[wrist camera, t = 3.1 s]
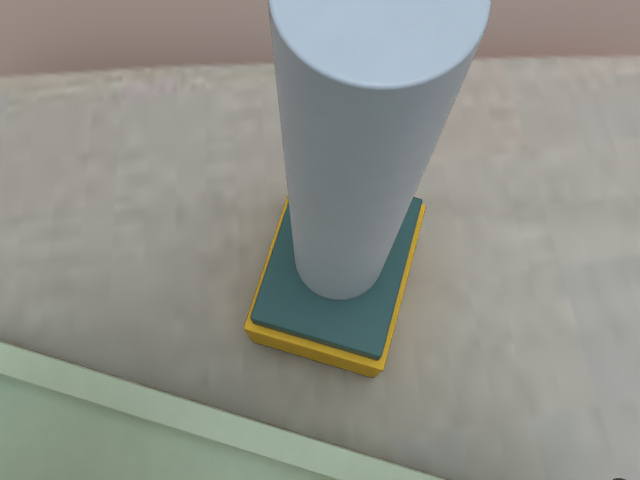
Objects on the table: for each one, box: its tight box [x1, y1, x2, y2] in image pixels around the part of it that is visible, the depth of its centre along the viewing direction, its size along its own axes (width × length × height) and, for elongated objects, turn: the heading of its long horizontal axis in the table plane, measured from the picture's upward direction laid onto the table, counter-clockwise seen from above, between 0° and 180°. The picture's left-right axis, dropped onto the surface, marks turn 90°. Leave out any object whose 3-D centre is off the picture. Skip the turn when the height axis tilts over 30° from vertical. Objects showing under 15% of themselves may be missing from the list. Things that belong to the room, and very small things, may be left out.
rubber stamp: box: [244, 0, 491, 378], centre depth 13 cm, size 5×4×14 cm
